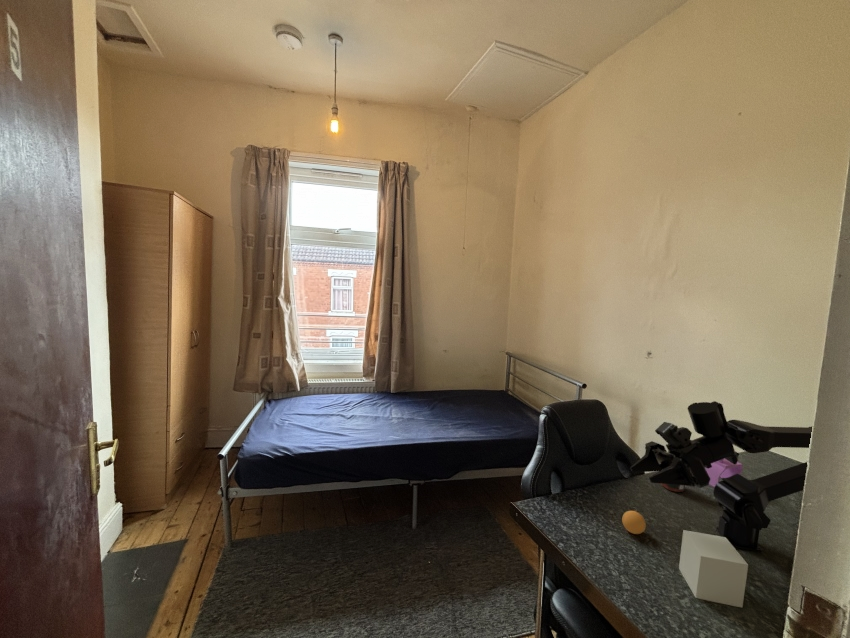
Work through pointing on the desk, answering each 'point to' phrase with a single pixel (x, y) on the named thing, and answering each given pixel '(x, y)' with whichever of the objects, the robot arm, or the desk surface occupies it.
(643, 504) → the desk surface
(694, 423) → the robot arm
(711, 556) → the plain beige cube
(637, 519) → the ball
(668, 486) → the supplement bottle
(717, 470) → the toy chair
